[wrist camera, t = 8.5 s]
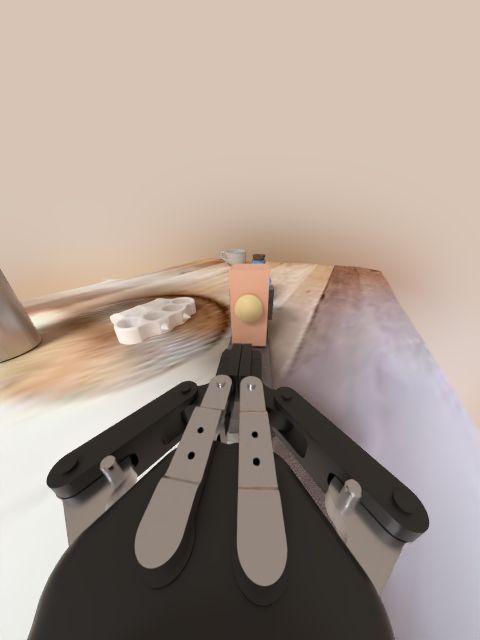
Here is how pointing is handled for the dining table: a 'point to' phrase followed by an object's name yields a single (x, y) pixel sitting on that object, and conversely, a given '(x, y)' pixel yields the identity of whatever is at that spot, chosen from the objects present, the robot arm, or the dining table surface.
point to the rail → (265, 368)
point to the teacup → (235, 256)
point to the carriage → (249, 303)
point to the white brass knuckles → (152, 319)
